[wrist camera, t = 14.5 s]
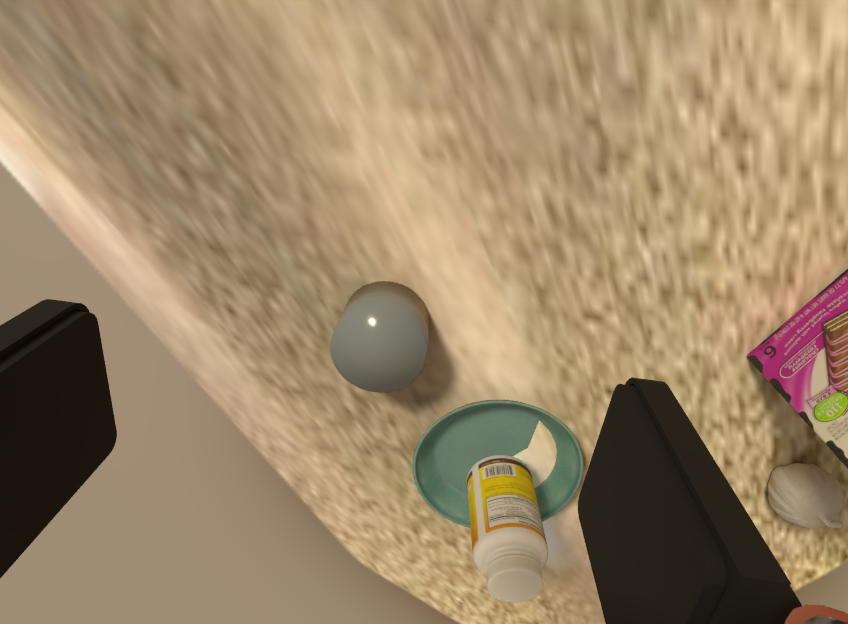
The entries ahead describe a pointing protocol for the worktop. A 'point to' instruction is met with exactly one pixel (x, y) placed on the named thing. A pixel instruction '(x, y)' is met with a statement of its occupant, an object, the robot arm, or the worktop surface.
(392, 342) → the grey short cylinder
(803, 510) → the garlic
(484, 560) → the supplement bottle
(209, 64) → the worktop surface
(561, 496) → the saucer
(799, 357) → the candy bar box
